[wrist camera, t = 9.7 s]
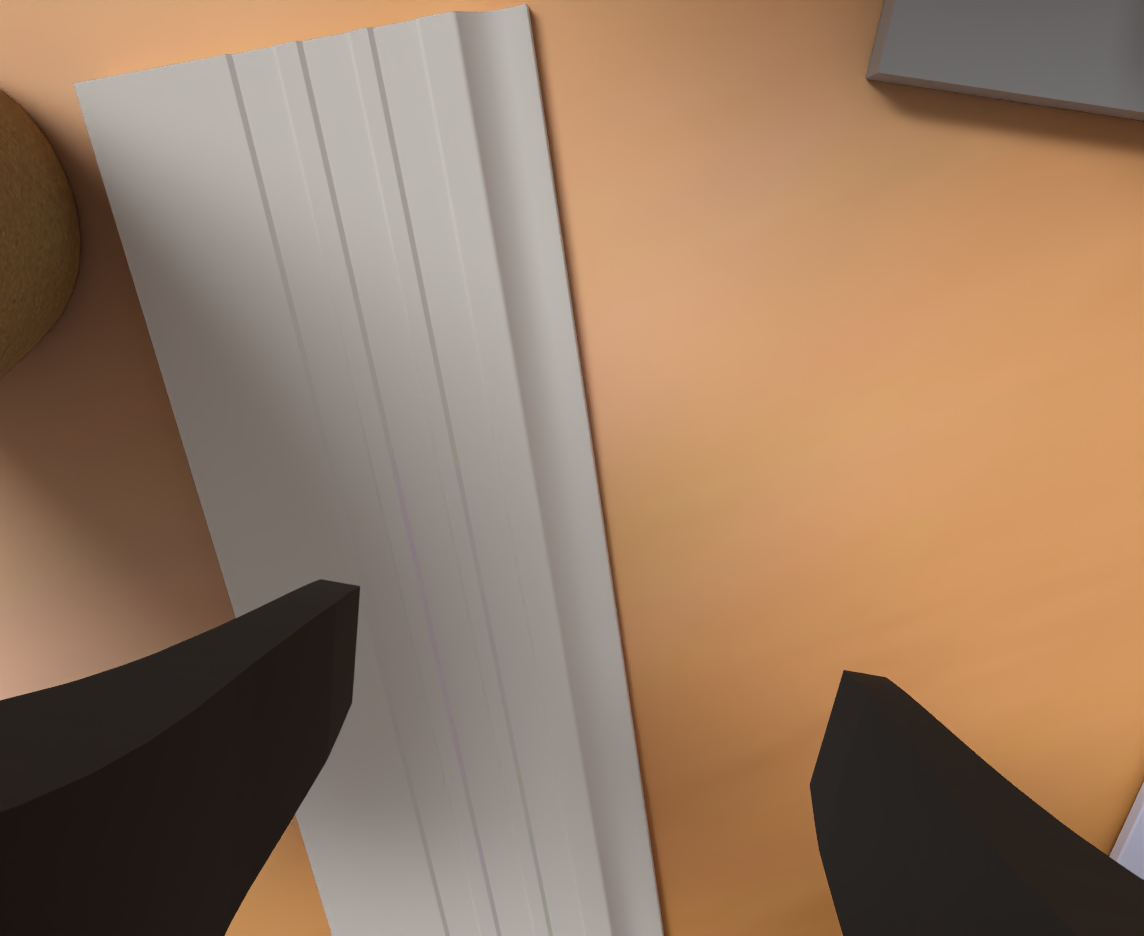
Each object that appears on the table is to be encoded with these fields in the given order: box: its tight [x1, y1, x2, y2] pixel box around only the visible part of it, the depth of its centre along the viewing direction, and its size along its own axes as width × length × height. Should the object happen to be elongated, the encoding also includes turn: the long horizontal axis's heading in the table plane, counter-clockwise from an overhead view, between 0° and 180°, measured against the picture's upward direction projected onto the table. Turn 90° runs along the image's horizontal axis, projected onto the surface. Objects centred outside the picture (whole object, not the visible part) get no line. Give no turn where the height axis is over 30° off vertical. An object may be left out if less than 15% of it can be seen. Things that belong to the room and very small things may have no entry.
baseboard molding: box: [73, 4, 664, 936], centre depth 23 cm, size 31×3×12 cm
